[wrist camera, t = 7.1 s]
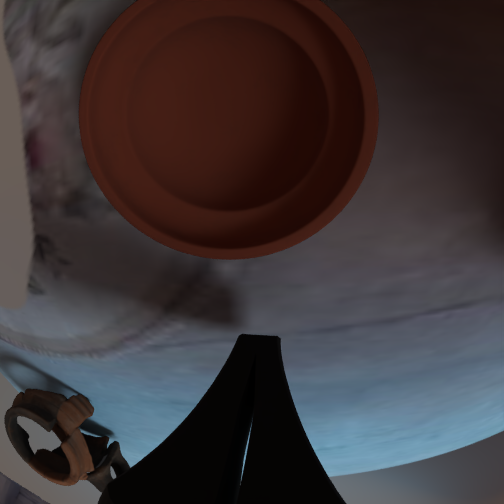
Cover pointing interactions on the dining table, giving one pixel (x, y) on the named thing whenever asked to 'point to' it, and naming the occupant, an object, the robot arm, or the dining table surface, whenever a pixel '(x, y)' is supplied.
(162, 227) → the pottery
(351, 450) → the dining table surface
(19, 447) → the broken clay jug rim
